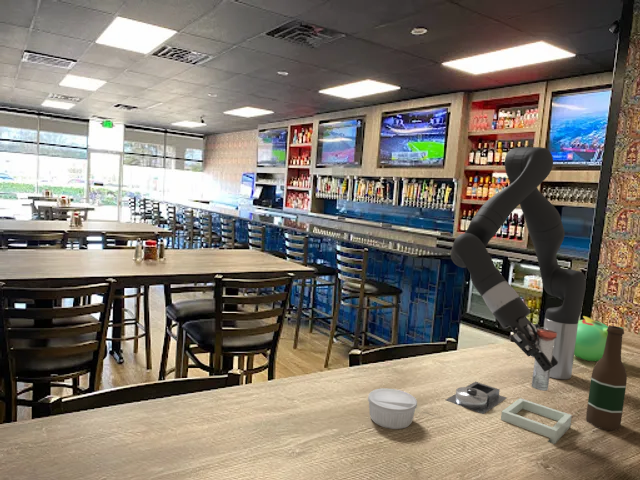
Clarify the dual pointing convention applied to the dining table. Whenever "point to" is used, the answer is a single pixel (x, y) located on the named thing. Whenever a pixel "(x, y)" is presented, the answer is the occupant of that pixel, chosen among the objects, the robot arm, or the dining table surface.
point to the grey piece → (477, 397)
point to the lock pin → (546, 345)
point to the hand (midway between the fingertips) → (551, 367)
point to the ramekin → (391, 408)
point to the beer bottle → (608, 385)
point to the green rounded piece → (590, 339)
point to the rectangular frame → (545, 430)
